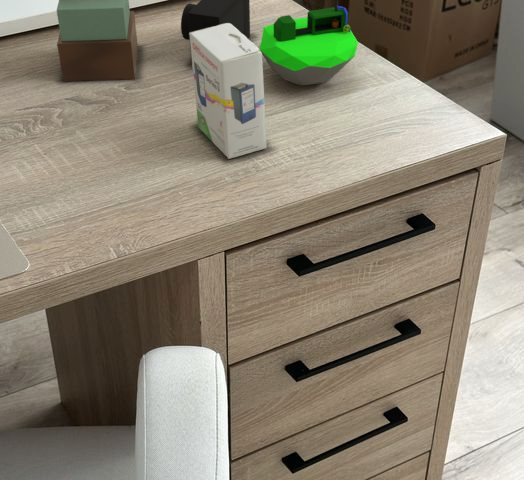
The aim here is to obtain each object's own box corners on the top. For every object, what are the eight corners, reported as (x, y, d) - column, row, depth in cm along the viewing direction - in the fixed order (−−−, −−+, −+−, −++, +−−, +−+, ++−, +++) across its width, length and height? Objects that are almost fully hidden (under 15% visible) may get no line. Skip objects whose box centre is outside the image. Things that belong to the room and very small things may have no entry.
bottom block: (63, 81, 119) (56, 43, 116) (69, 50, 126) (64, 13, 123) (135, 79, 120) (130, 41, 116) (137, 47, 126) (134, 10, 123)
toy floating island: (333, 51, 125) (337, -33, 117) (368, 91, 117) (375, 3, 109) (246, 66, 122) (244, -20, 115) (276, 108, 114) (276, 18, 106)
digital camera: (213, 31, 130) (210, -20, 125) (250, 36, 128) (249, -15, 124) (182, 63, 123) (178, 10, 118) (221, 70, 121) (219, 16, 117)
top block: (61, 41, 116) (56, 9, 114) (67, 14, 122) (62, -17, 120) (127, 39, 117) (123, 7, 114) (130, 12, 123) (126, -19, 120)
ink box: (267, 150, 107) (266, 49, 99) (226, 161, 105) (221, 60, 97) (233, 116, 112) (230, 19, 104) (193, 127, 111) (187, 29, 103)
